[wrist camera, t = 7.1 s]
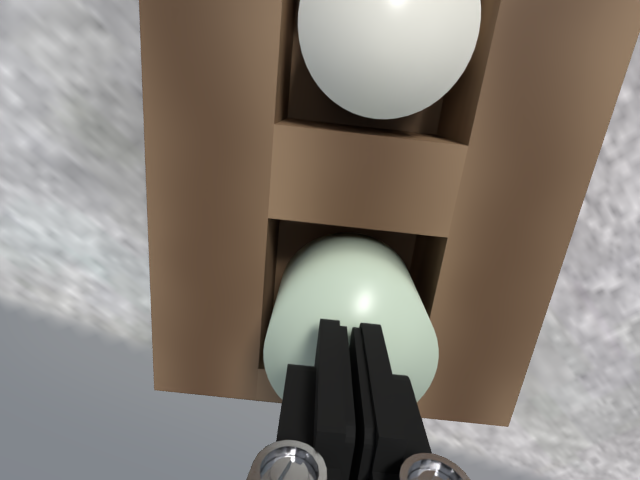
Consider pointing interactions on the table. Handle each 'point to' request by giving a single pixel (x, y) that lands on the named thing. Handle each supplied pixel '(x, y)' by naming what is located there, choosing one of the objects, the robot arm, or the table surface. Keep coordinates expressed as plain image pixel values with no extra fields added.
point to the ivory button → (387, 51)
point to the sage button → (350, 307)
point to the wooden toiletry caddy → (369, 185)
